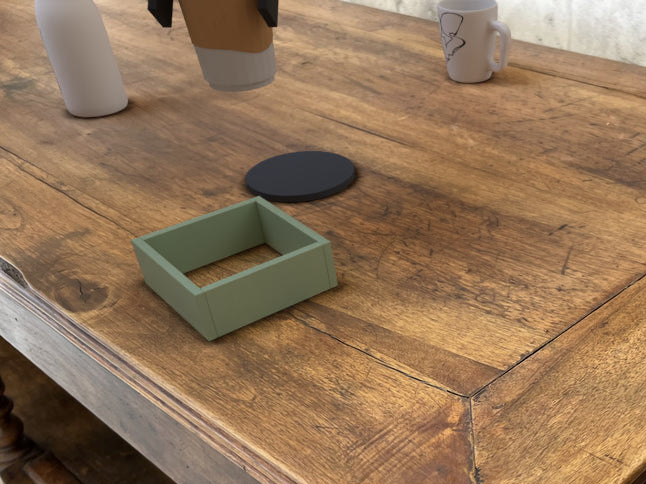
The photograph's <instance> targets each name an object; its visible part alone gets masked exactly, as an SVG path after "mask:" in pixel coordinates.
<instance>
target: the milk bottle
mask: <svg viewBox="0 0 646 484" xmlns="http://www.w3.org/2000/svg"><path fill="white" fill-rule="evenodd" d="M34 14H35V20H36V25H37V27H38V31H39V35H40V37H41V40H42V43H43V46H44V49H45V51H46V54H47V56H48V60H49V63H50V66H51V67H52V71H53V75H54V78H55V79H56V83H57V85H58V88H59V90H60V93H61V96H62V100H63V101H64V102H63V103H64V104H65V106H66V109H67V111H68V112H69V113H70V114H71V115H72V116H76V117H79V118H80V117H81V118H95V117H102V116H107V115H112V114H115V113H118V112H120V111H122V110H123V109H125V108H127V106H128V104H129V103H128V102H129V99H128V95H127V92H126V89H125V86H124V85H125V84H124V82H123V78H122V75H121V73H120V69H119V66H118V63H117V60H116V56H115V53H114V51H113V46H112V43H111V41H110V38H109V35H108V32H107V31H108V30H107V29H106V25H105V22H104V20H103V17H102V14H101V12H100V10H99V8H98V5H96V2H95V1H94V0H34Z"/></svg>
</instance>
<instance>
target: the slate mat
mask: <svg viewBox="0 0 646 484" xmlns="http://www.w3.org/2000/svg"><path fill="white" fill-rule="evenodd" d="M355 176H356V171H355V165H354V164H353V162H352V161H351V160H350V159H349V158H347V157H346V156H344V155H341V154H338V153H335V152H330V151H323V150H302V151H301V150H300V151H292V152H286V153H283V154H278V155H275V156H271V157H268V158H266V159H264V160H262V161H260V162H257V163H256V164H255V165H253V166H252V167H251V168H250V169H249V170H248V171H247V173H246V175H245V183H246V187H247V189H248V191H249V192H250V193H251V194H252V195H253V196H254V197H257V196H260V197H261V198H263V199H265V200H266V201H270V202H277V203H299V202H300V203H301V202H309V201H314V200H315V201H316V200H319V199H323V198H327V197H330V196H332V195H335V194H337V193H339V192H342V191H344V190H345V189H346V188H348V186H350V185H351V184H352V183H353V182H354V179H355Z"/></svg>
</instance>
